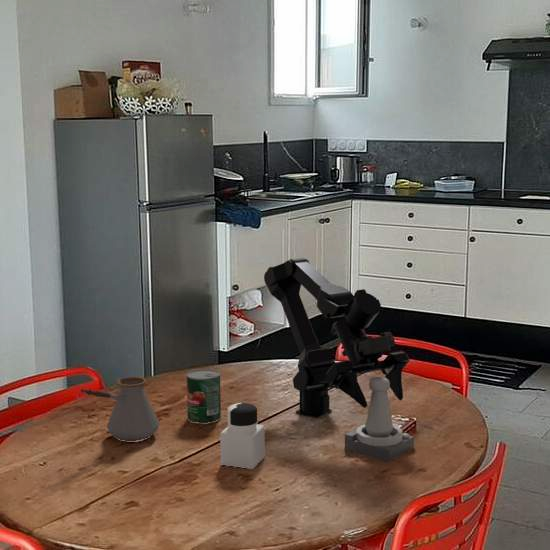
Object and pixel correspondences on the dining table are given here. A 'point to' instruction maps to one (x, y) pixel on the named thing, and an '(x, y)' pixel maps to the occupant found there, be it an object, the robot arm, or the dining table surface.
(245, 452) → the medicine bottle
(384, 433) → the salt shaker
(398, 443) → the ringed square socket
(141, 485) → the dining table surface
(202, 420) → the canned tomato
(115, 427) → the coffee pot
